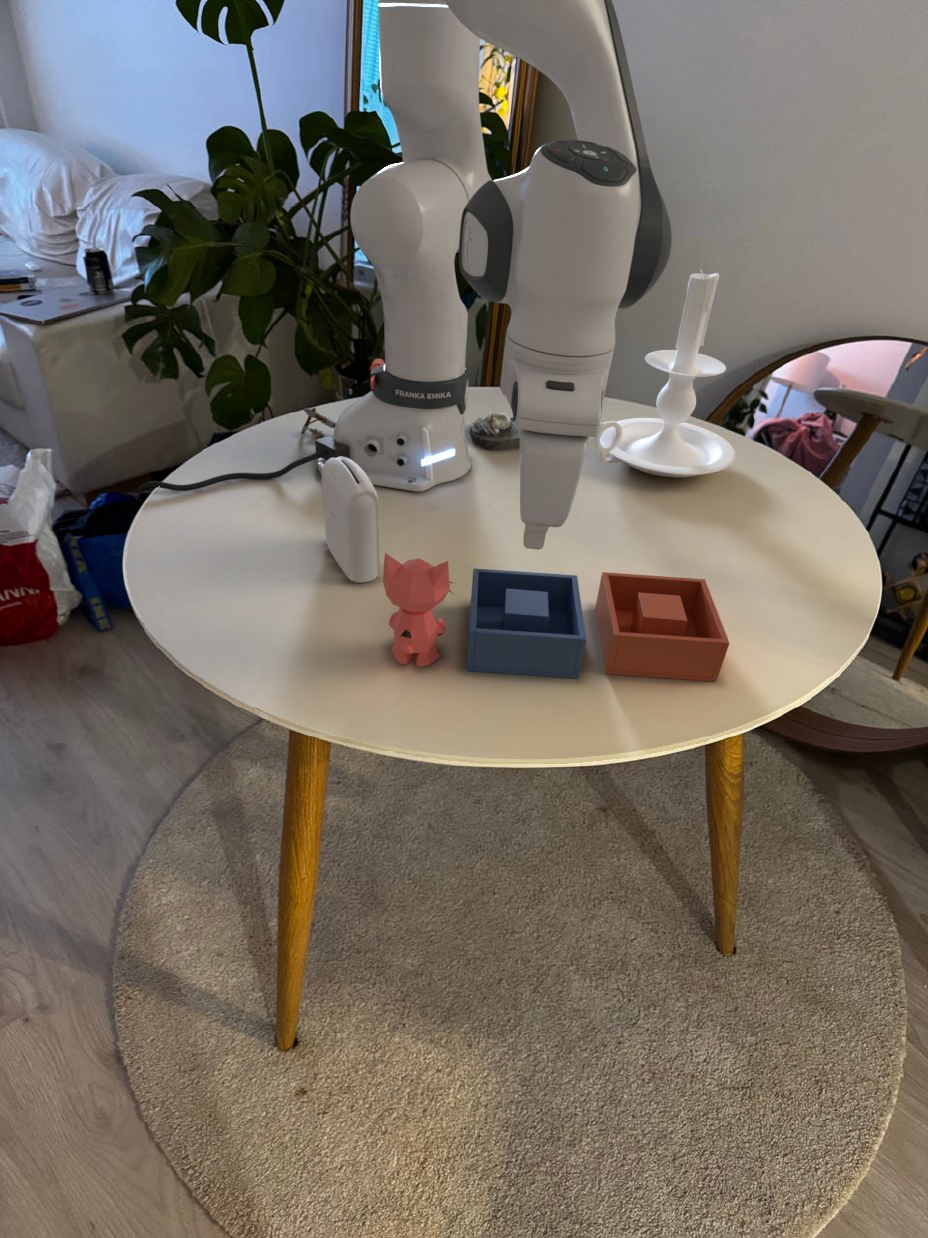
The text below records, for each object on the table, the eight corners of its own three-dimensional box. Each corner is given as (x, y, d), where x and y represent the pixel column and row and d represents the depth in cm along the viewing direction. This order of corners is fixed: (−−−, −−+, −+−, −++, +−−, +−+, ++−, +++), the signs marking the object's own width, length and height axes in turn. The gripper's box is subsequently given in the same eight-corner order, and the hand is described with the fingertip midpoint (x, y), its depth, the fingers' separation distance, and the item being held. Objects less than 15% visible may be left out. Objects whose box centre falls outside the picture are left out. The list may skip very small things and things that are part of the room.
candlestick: (548, 450, 119) (573, 257, 102) (670, 428, 129) (711, 249, 112) (628, 509, 104) (672, 296, 88) (759, 480, 114) (821, 282, 97)
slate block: (501, 647, 78) (504, 613, 75) (502, 621, 81) (505, 588, 79) (543, 651, 78) (548, 616, 75) (543, 625, 81) (547, 591, 78)
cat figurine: (454, 641, 79) (460, 542, 72) (442, 684, 73) (447, 581, 66) (388, 631, 80) (387, 533, 72) (371, 673, 74) (368, 571, 67)
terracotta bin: (605, 674, 76) (614, 635, 73) (594, 609, 85) (602, 571, 82) (716, 681, 76) (729, 643, 73) (694, 615, 85) (705, 579, 82)
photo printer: (322, 543, 93) (315, 449, 85) (355, 537, 95) (351, 444, 87) (349, 587, 86) (345, 489, 78) (385, 580, 87) (383, 482, 80)
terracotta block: (635, 650, 78) (643, 617, 76) (630, 625, 82) (638, 592, 79) (677, 654, 78) (687, 620, 76) (671, 628, 82) (680, 595, 79)
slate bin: (466, 671, 75) (469, 631, 72) (470, 605, 84) (473, 567, 81) (578, 678, 75) (586, 639, 72) (570, 612, 84) (577, 575, 81)
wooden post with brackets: (296, 428, 119) (307, 402, 117) (344, 450, 120) (355, 425, 118) (294, 431, 117) (305, 405, 115) (342, 454, 119) (353, 429, 117)
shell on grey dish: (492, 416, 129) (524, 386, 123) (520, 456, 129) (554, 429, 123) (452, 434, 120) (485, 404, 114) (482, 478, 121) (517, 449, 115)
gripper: (516, 331, 71) (499, 466, 79) (517, 417, 55) (496, 574, 63) (583, 338, 71) (559, 472, 79) (603, 426, 55) (571, 582, 63)
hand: (531, 518), depth 71 cm, fingers open, 8 cm apart
